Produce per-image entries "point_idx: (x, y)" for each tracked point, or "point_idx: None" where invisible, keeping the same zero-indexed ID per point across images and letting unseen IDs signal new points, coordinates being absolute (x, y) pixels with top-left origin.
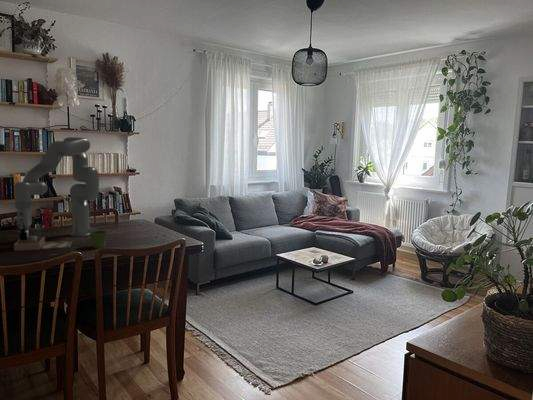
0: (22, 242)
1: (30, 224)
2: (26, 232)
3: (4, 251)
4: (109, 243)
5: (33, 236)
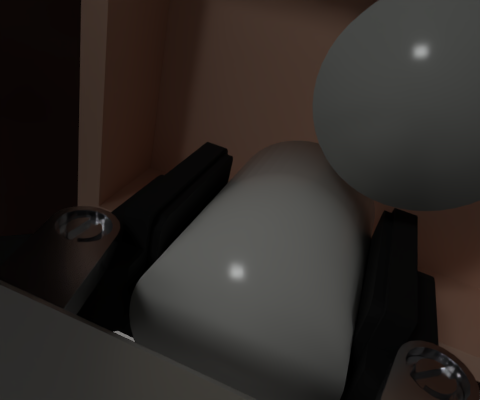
0: (146, 179)
1: (50, 341)
2: (345, 306)
3: None
4: None
5: (421, 88)
